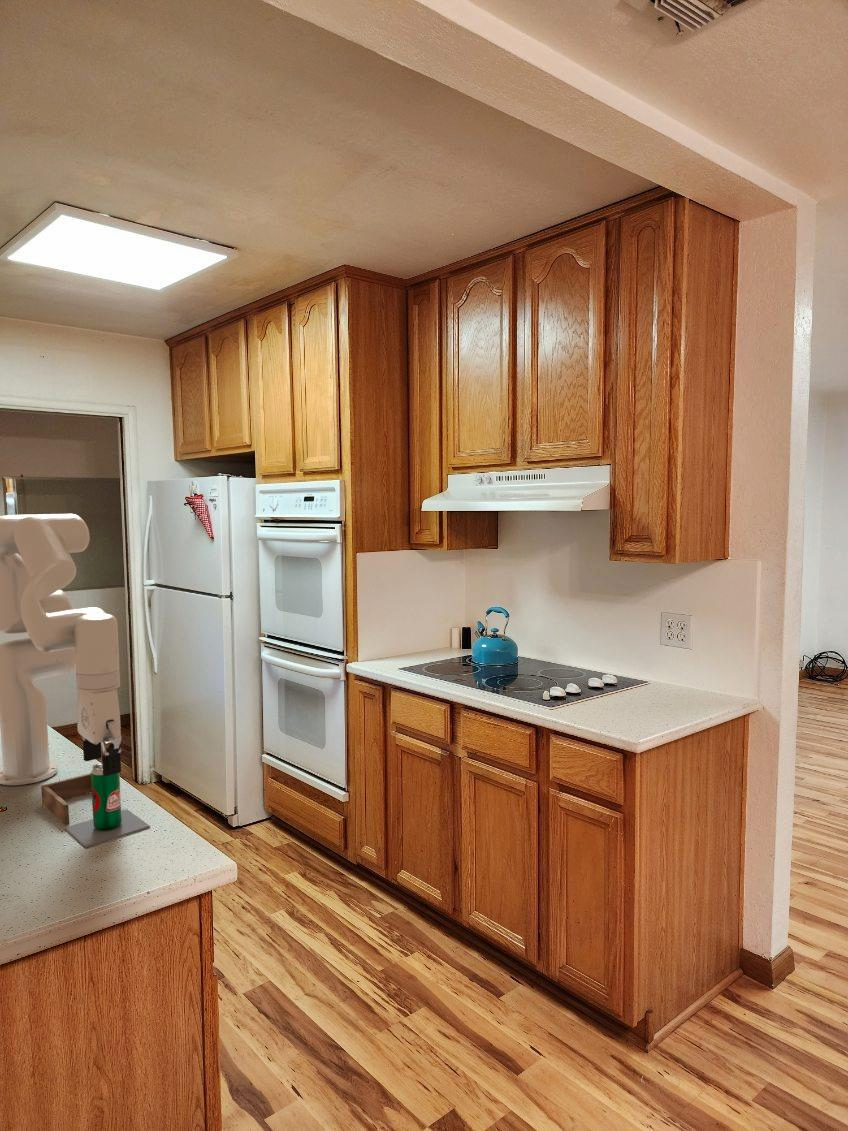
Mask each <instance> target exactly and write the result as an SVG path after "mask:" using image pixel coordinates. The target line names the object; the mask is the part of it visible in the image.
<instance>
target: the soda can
mask: <svg viewBox="0 0 848 1131" xmlns="http://www.w3.org/2000/svg"><path fill="white" fill-rule="evenodd" d="M90 773H91V790H92V792H91V802H92V803H91V807H92V808H91V809H92V819H93V826H94V827H95V828H96V829H97V830H101V831H106V830H111V829H114V828H116V827H118V826H119V825H120V824H121V822H122V815H121V811H122V802H121V801H122V799H121V798H122V797H121V796H122V795H121V778H120V775H121V774H120V773H117V774H113V775H109V776H104V775H103V769H102V762H99V763H96V764H94V765H93V766H92V770H91V771H90Z"/></svg>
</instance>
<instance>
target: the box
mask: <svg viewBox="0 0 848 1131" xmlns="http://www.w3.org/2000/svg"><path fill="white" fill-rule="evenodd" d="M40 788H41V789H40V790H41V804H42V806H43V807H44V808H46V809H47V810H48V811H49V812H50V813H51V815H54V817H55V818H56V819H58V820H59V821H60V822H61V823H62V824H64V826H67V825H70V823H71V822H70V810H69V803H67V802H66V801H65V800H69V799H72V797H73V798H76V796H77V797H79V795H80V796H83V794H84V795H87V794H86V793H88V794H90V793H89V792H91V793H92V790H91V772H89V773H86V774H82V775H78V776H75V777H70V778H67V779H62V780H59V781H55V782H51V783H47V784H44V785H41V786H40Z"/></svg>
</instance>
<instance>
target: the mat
mask: <svg viewBox="0 0 848 1131" xmlns="http://www.w3.org/2000/svg"><path fill="white" fill-rule="evenodd" d="M121 815H122V822H121V824H120V825H119V826H118V827H116V828H114V829H111V830H106V831H101V830H97V829H96V828H95V827H94V826H93V818H92V819H88V820H86V821H82V822H79V823H75V824H73V825H69V826H65V827H64V830H65V831H66V832H67V833H68V834H69V835H70V836H72V838H74V839H75V840H76V841H77V840H78V841H79V842H80V843H81V844H80V843H79V842H78V841H77V842H78V843H79V844H80V845H81V846H82V847H84V849H88V848H91V847H95V846H97V845H100V843H101V844H103V842H104V843H107V842H109V840H110V841H112V839H113V840H116V839H119V838H122V837H125V835H126V836H128V835H131V834H134V833H137V832H141V831H144V830H147V829H150V828H151V825H150V824H148V823H147V822H145V821H144V820H143V819H142V818H140V817H139V816H137V815H136V814H134V813H133V812H132V811H131V810H129V809H128V808H125V809H121ZM115 838H116V839H115Z"/></svg>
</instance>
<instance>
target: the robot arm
mask: <svg viewBox="0 0 848 1131" xmlns="http://www.w3.org/2000/svg"><path fill="white" fill-rule="evenodd" d="M90 538H91V537H90V531H89V528H88V525H87V524H86V522H85V521H84V519H83V518H81V516H80V515H77V514H74V513H49V514H48V513H43V514H40V513H39V514H7V515H6V514H5V515H0V633H1V634H4V635H17V634H26V633H27V634H28V638H27V637H26V638H22V639H21V638H20V639H13V640H9V641H5V642H3V643H0V741H1V742H0V743H1V744H0V745H1V758H2V770H0V785H3V786H23V785H29V784H34V783H39V782H43V781H44V780H47V779H50V778H51V777H53V776H55V775H56V774H57V773H58V771H59V769H58V768H59V767H58V765H57V763H54V762H51V760H50V759H51V758H50V747H49V746H50V745H49V743H50V742H49V729H48V714H47V703H46V702H47V701H46V697H45V694H44V693H43V692H42V691H41V689H39V688H38V687H37V686H35V685H34V683H33V681H35V680H36V681H37V680H40V679H45V678H49V677H50V678H51V677H56V676H61V675H66V674H67V673H70V672H71V671H72V670H74V668H75V673H76V674H75V676H76V691H77V710H76V711H77V714H76V715H77V719H76V720H77V725H76V726H77V727H76V728H77V732H78V735H80V736H81V739H82V751H83V752H82V753H83V755H82V756H83V760H84V762H90V761H94V760H98V759H101V763H102V769H103V775H104V776H109V775H113V774H117V773H119V774H120V773H121V772H122V765H121V764H122V763H121V762H122V760H121V759H122V758H121V752H122V749H121V748H122V743H121V742H122V733H121V729H122V728H121V713H120V712H121V711H120V703H119V695H118V689H117V688H120V686H121V680H120V678H121V677H120V652H119V651H120V649H119V629H118V628H119V626H118V620H117V617H115V616H114V615H113V614H109V613H106V611H104V610H103V609H102V608H101V607H96V606H92V607H91V606H90V607H81V608H72V603H71V601H70V598H69V597H68V596H69V595H67V593H66V592H64V591H63V590H62V589H64V588H66V587H67V586H68V585H70V584H71V583H72V582H73V580H74V579H75V577H76V575H77V567H76V566H77V565H76V564H75V562H74V560H73V558H72V556H71V554H72V553H82V552H84V551H85V550H86V549H87V548H88V546H89V544H90ZM108 743H109V745H107V744H108ZM102 752H103V754H102ZM54 774H55V775H54Z"/></svg>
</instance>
